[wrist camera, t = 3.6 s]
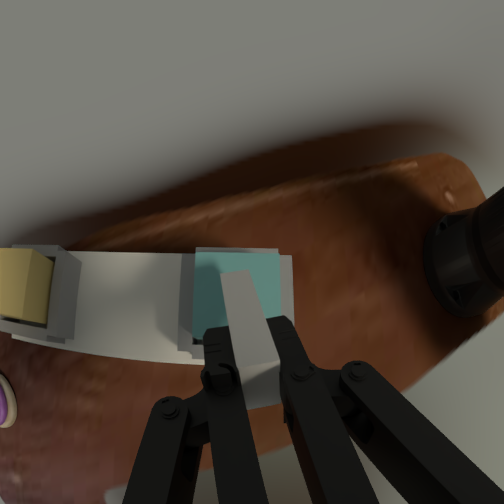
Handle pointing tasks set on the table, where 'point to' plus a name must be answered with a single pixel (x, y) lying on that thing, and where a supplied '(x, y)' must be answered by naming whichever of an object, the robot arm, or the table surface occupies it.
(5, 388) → the stacking toy
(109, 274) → the button console
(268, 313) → the teal button
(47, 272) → the mustard button
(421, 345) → the table surface
